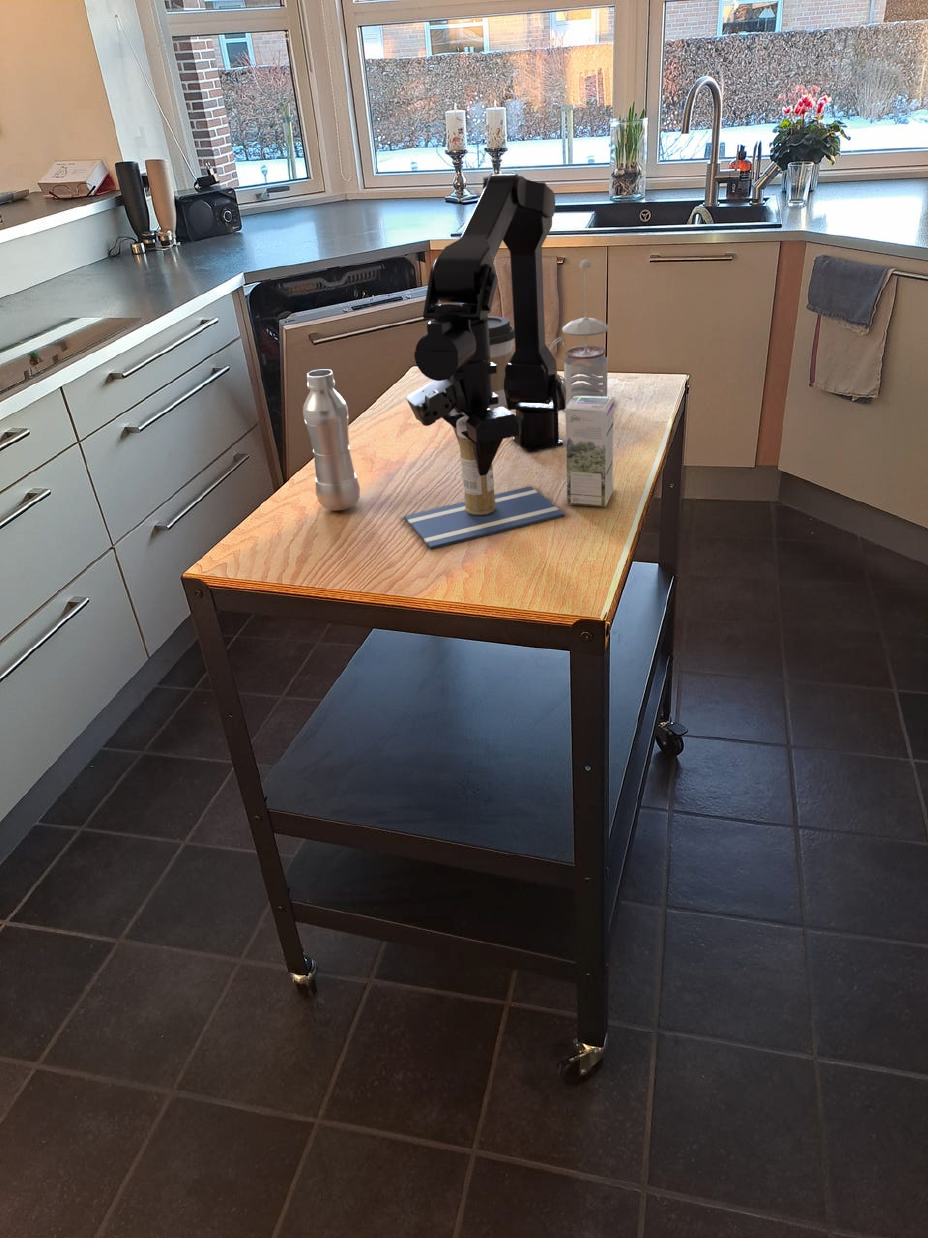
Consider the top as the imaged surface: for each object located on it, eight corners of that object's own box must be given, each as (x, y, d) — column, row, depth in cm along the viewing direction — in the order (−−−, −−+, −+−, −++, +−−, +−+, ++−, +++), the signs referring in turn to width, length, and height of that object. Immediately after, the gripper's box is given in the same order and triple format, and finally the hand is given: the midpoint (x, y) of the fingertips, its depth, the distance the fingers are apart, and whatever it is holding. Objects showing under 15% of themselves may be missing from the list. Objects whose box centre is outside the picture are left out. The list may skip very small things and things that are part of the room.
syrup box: (613, 491, 134) (614, 394, 127) (605, 508, 129) (606, 408, 122) (575, 489, 136) (574, 393, 128) (565, 506, 131) (564, 407, 124)
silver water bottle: (327, 519, 133) (305, 383, 123) (312, 503, 138) (289, 372, 128) (369, 508, 135) (350, 374, 125) (352, 493, 141) (333, 363, 130)
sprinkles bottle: (502, 509, 131) (496, 418, 123) (476, 519, 129) (468, 428, 121) (484, 499, 134) (477, 410, 127) (458, 509, 132) (449, 419, 125)
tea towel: (530, 488, 137) (530, 485, 137) (564, 515, 128) (564, 513, 128) (404, 518, 132) (403, 515, 131) (430, 549, 123) (430, 546, 123)
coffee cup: (462, 395, 177) (456, 315, 169) (521, 393, 175) (518, 312, 168) (454, 415, 168) (447, 331, 160) (516, 413, 166) (512, 329, 158)
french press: (616, 411, 163) (618, 263, 150) (550, 416, 164) (546, 268, 151) (609, 394, 171) (610, 251, 158) (547, 398, 172) (543, 257, 159)
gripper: (387, 351, 125) (400, 459, 133) (435, 386, 110) (446, 506, 118) (463, 337, 128) (471, 443, 136) (520, 370, 113) (525, 487, 121)
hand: (476, 469), depth 128 cm, fingers closed on sprinkles bottle, 4 cm apart
